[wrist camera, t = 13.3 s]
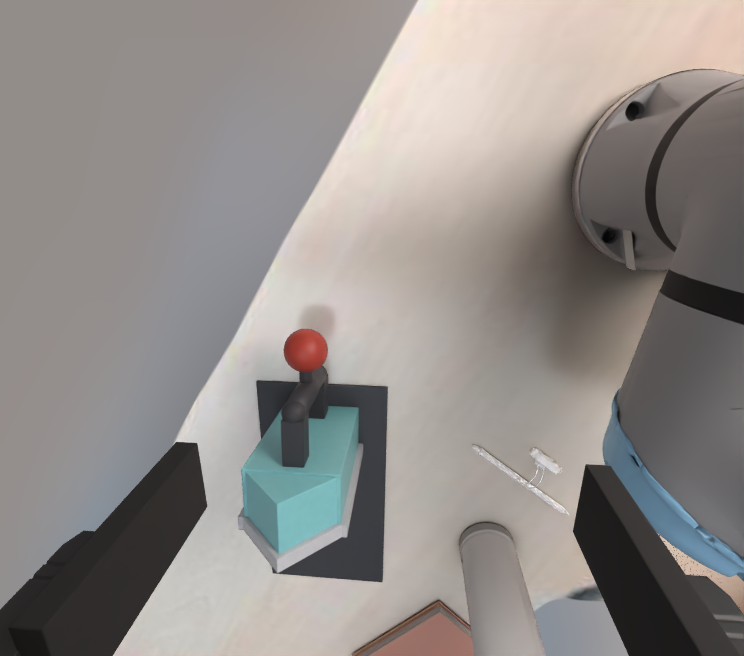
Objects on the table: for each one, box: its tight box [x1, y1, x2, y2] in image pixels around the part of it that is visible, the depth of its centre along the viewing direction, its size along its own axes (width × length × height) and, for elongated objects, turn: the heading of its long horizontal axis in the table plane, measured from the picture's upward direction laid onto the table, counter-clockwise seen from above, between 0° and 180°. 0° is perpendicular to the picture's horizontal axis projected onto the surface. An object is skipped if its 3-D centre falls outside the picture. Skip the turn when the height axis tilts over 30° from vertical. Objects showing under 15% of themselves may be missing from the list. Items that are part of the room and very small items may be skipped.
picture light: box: [472, 445, 569, 515], centre depth 46 cm, size 14×4×2 cm, turn 53°
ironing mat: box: [256, 381, 388, 582], centre depth 50 cm, size 14×27×1 cm, turn 179°
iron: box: [238, 329, 363, 573], centre depth 37 cm, size 17×9×16 cm
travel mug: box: [459, 523, 546, 656], centre depth 41 cm, size 6×7×20 cm
